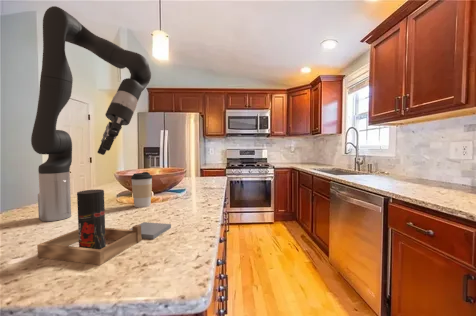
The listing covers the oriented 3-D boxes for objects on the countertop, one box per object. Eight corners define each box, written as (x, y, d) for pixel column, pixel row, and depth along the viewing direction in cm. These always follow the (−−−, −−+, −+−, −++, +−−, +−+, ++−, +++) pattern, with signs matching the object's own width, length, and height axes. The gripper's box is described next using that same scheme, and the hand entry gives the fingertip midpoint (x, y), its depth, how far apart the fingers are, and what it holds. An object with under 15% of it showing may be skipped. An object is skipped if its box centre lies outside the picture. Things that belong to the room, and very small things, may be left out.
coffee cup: (145, 208, 103) (144, 174, 103) (127, 207, 105) (126, 173, 105) (156, 203, 112) (156, 171, 112) (139, 202, 114) (138, 171, 113)
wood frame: (36, 256, 58) (36, 239, 57) (86, 235, 71) (86, 221, 71) (101, 265, 53) (101, 245, 53) (141, 240, 67) (141, 225, 67)
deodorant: (110, 245, 64) (109, 190, 63) (90, 254, 59) (88, 194, 58) (94, 242, 66) (92, 189, 65) (73, 251, 60) (71, 192, 60)
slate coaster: (123, 236, 71) (123, 232, 71) (143, 225, 80) (143, 222, 80) (153, 239, 68) (153, 235, 68) (170, 227, 78) (170, 224, 78)
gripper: (106, 109, 84) (87, 151, 78) (115, 95, 73) (93, 142, 67) (128, 119, 88) (110, 159, 82) (139, 107, 77) (120, 152, 71)
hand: (102, 151), depth 75 cm, fingers open, 8 cm apart
